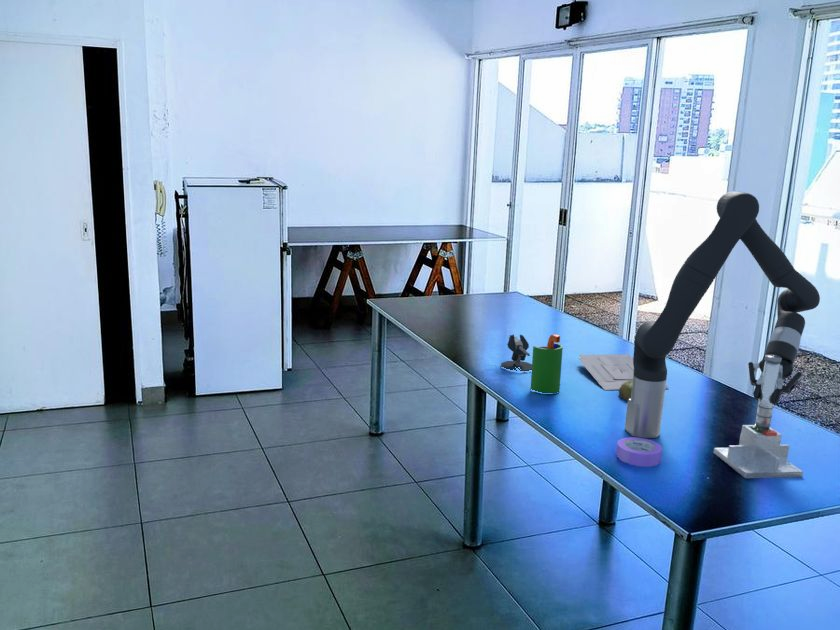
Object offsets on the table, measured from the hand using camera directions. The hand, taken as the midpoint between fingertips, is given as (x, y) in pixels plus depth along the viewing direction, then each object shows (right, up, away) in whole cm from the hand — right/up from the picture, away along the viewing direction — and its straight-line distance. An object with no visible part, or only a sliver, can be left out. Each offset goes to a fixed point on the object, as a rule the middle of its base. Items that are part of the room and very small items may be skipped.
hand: (764, 400), depth 198 cm
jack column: (+1, -11, +4) cm, 12 cm away
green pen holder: (-48, -3, +59) cm, 76 cm away
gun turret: (-54, +2, +80) cm, 96 cm away
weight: (-17, -6, +56) cm, 58 cm away
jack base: (0, -18, +6) cm, 19 cm away
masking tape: (-31, -17, +7) cm, 36 cm away
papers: (-18, 0, +78) cm, 80 cm away
